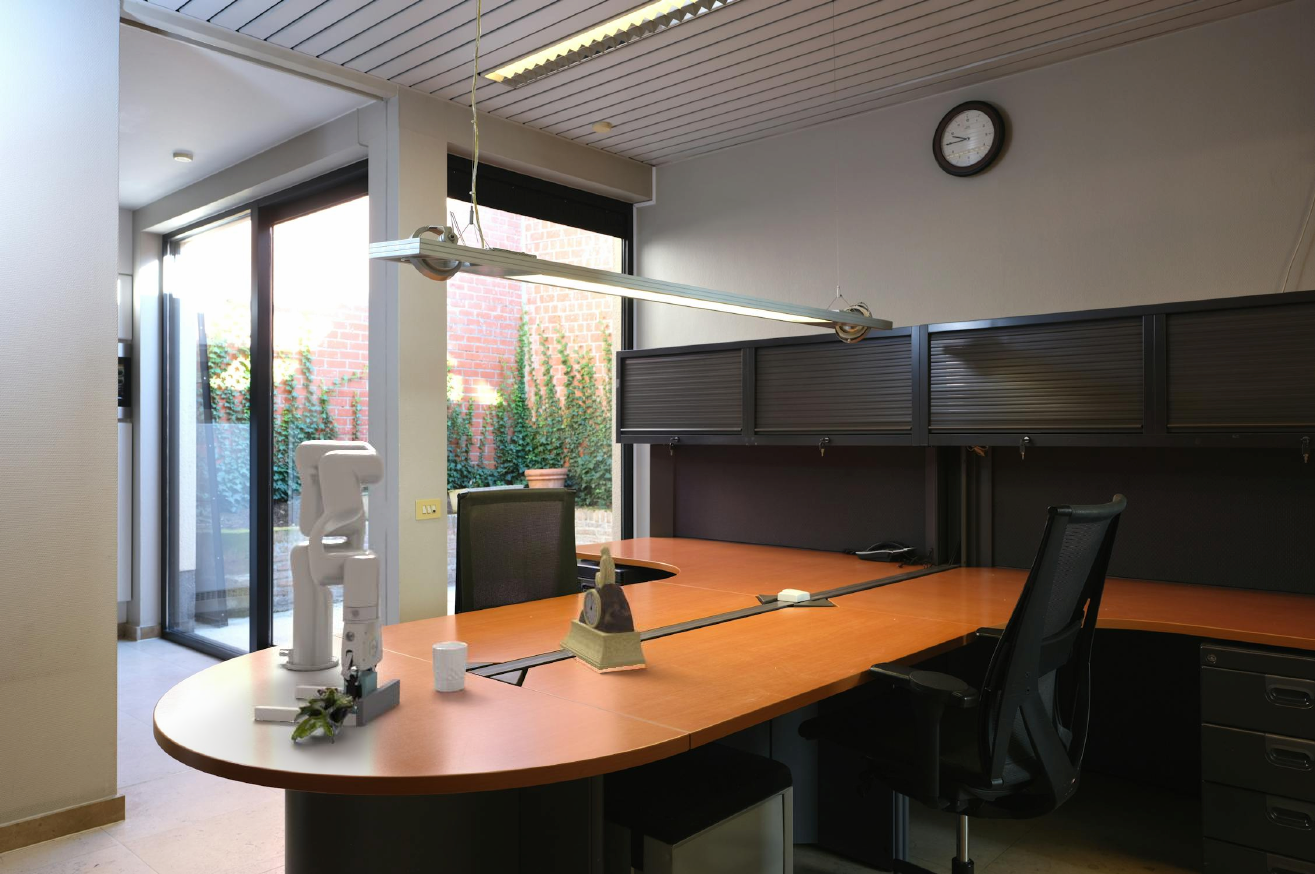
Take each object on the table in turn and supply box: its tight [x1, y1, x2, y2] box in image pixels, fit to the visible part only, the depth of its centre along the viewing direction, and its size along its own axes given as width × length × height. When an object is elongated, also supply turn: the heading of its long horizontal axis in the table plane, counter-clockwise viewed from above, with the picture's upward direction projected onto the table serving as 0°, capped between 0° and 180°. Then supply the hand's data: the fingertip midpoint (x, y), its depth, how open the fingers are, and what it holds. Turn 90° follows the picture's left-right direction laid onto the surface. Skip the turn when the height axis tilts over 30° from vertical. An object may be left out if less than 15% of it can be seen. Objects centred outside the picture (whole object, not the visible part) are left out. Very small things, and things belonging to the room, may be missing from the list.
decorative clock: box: [558, 545, 646, 670], centre depth 235 cm, size 28×13×30 cm, turn 27°
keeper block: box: [342, 670, 378, 697], centre depth 186 cm, size 5×5×6 cm
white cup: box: [431, 641, 468, 693], centre depth 205 cm, size 8×8×10 cm
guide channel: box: [254, 678, 401, 727], centre depth 187 cm, size 24×17×5 cm
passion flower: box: [290, 686, 359, 744], centre depth 169 cm, size 11×11×12 cm
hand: (360, 698), depth 186 cm, fingers closed on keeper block, 5 cm apart
